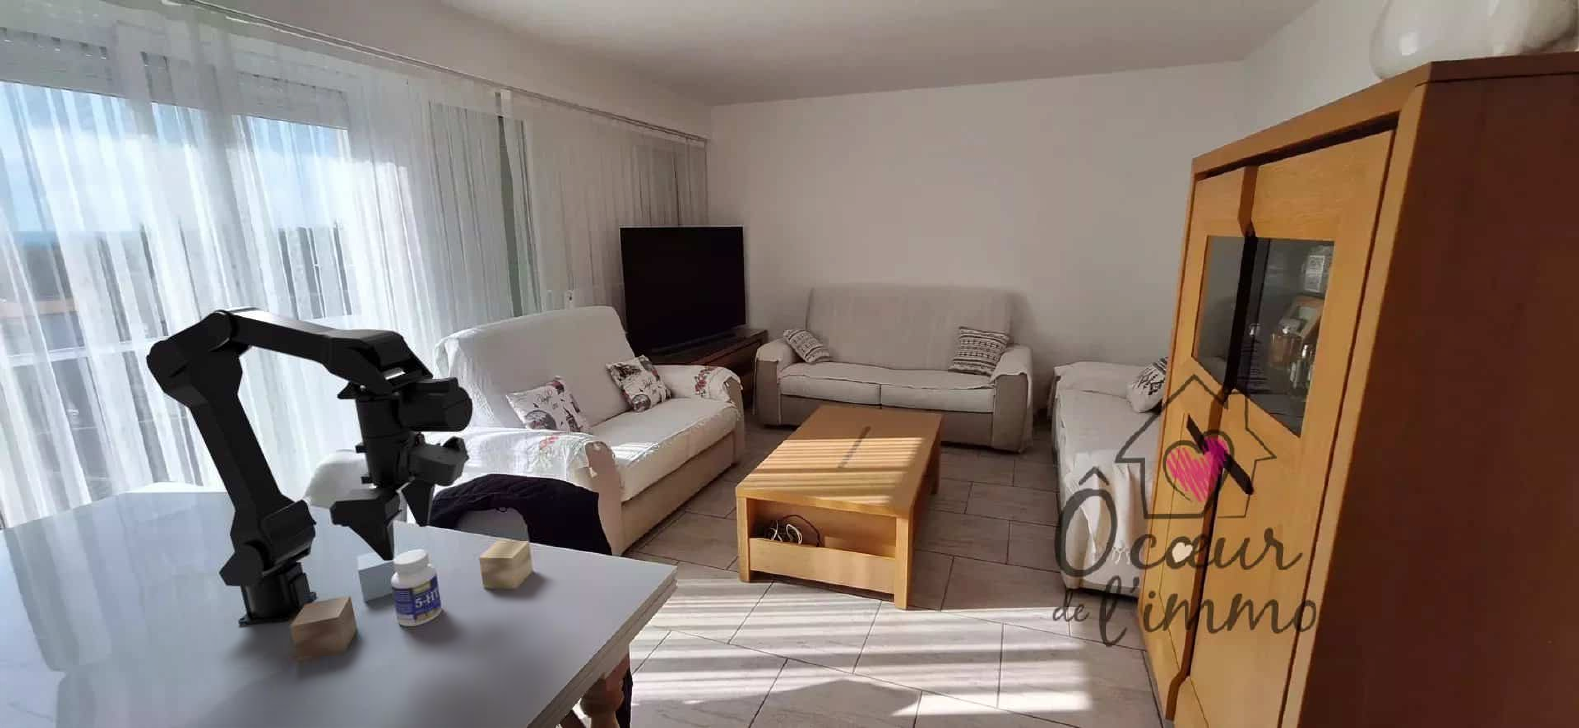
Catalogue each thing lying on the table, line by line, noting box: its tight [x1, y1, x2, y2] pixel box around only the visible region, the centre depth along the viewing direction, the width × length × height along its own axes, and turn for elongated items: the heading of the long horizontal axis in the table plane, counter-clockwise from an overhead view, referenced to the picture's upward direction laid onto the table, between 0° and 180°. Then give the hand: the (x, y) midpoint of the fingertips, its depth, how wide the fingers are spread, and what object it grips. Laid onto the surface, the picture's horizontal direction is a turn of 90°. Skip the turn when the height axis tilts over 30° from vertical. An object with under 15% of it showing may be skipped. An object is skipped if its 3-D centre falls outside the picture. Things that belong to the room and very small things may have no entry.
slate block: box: [356, 545, 399, 602], centre depth 93 cm, size 5×5×5 cm
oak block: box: [478, 540, 534, 590], centre depth 95 cm, size 5×5×5 cm
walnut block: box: [289, 595, 358, 663], centre depth 81 cm, size 5×5×5 cm
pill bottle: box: [391, 548, 443, 627], centre depth 86 cm, size 5×5×9 cm
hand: (407, 542), depth 85 cm, fingers open, 9 cm apart
